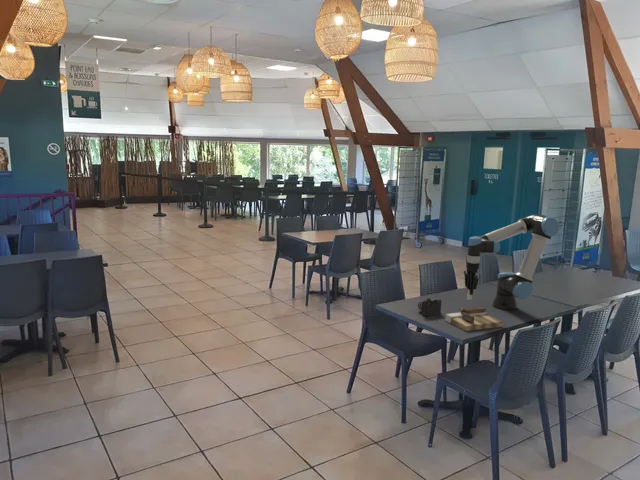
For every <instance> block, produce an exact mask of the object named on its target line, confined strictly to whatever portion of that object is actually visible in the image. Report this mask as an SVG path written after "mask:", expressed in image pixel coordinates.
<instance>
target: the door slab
mask: <svg viewBox="0 0 640 480" xmlns="http://www.w3.org/2000/svg"><path fill="white" fill-rule="evenodd" d="M473 317H474V323H469V322H467V321H465V320H463V319H462V317H458V318H451V323H450V324H452V325H453V326H456V327H458V328H459V329H461V330H463V331H465V332H470V331H477V330H478V331H479V330H484V329H492V328H500V327H503V320H500V319H498V318H496V317H493V316H491V315H489V314H487V313H486V314H484V315H475V316H473Z"/></svg>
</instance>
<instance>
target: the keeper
mask: <svg viewBox="0 0 640 480" xmlns="http://www.w3.org/2000/svg"><path fill="white" fill-rule="evenodd" d="M462 319H463V320H465V321H467V322H469V323H474V317H473V316H471V315H469V314H467V313H463V315H462Z"/></svg>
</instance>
